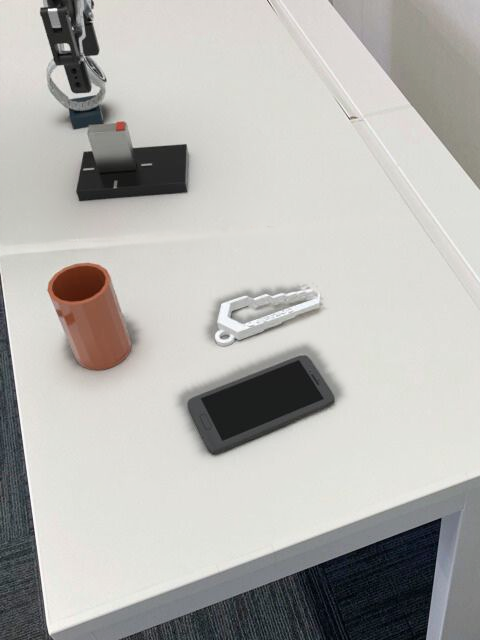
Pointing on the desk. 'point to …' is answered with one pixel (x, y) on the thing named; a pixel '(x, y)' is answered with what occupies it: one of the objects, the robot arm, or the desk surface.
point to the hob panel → (137, 175)
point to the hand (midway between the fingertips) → (86, 72)
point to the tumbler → (90, 315)
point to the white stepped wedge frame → (259, 325)
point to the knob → (112, 147)
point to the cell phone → (259, 403)
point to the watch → (85, 107)
